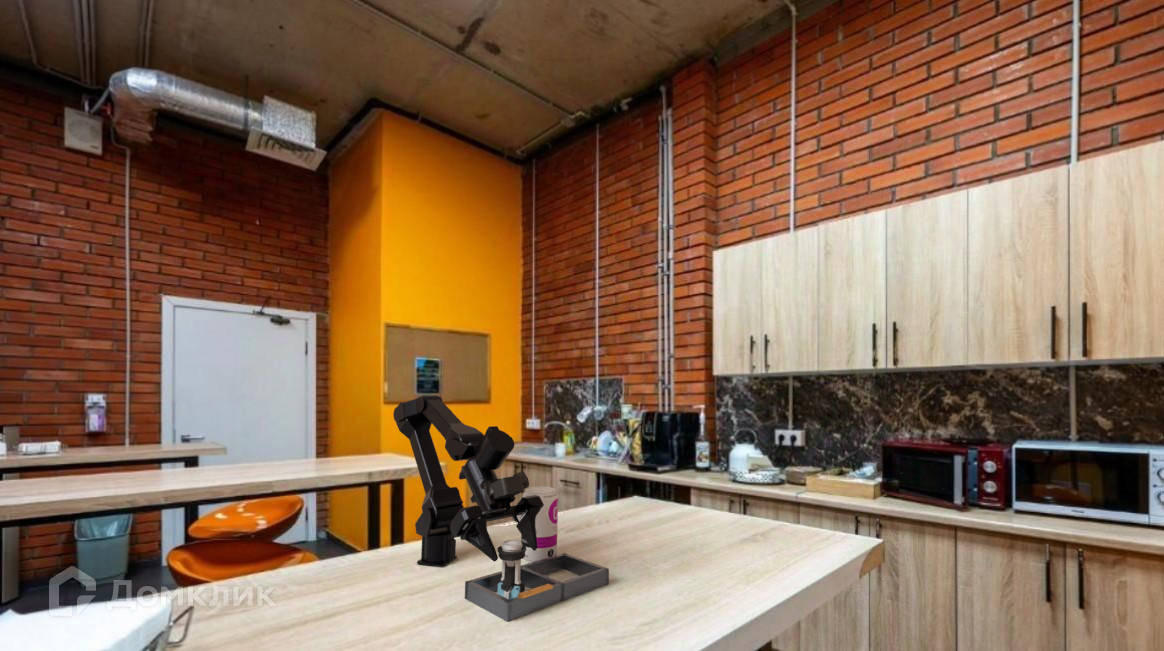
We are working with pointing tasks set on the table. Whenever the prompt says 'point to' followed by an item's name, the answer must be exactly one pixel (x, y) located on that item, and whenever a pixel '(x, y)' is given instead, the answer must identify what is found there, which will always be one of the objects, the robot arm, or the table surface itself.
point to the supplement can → (544, 524)
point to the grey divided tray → (537, 586)
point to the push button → (511, 568)
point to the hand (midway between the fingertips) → (516, 554)
